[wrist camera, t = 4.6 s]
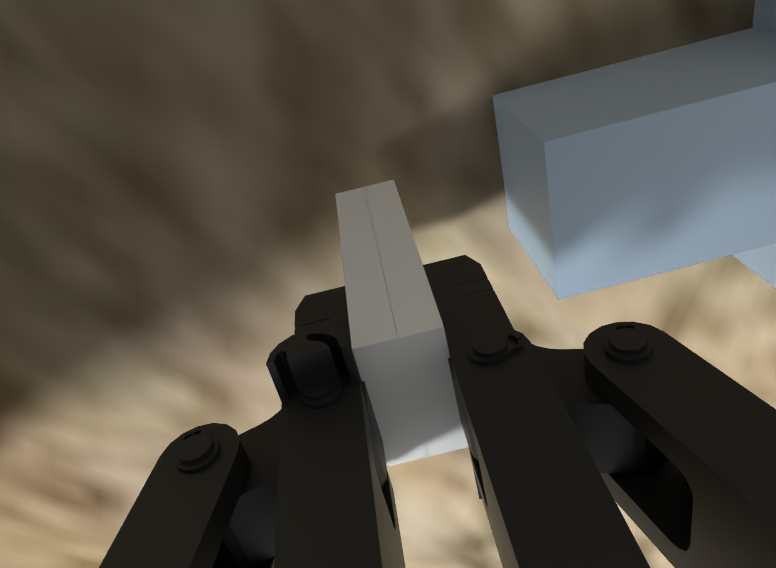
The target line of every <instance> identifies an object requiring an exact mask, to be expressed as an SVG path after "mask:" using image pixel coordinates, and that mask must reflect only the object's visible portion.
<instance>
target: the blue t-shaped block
mask: <svg viewBox="0 0 776 568" xmlns="http://www.w3.org/2000/svg"><path fill="white" fill-rule="evenodd" d="M492 97H493V104H494V112H495V120H496V127H497V135H498V142H499V150H500V158H501V165H502V173H503V180H504V188H505V196H506V203H507V211H508V218H509V226H510V230H511V231H512V233H513V234H514V236H515V237H516V239H517V240H518V242H519V243H520V244H521V246H522V247H523V249H524V250H525V252H526V253H527V255H528V256H529V258H530V259H531V261H532V262H533V263H534V265H535V266H536V268H537V269H538V271H539V272H540V274H541V275H542V277H543V278H544V280H545V281H546V283H547V284H548V285H549V287H550V288H551V290H552V291H553V293H554V294H555V296H556V297H557V299H562V298H566V297H570V296H574V295H578V294H582V293H586V292H589V291H593V290H597V289H601V288H605V287H609V286H613V285H617V284H621V283H624V282H628V281H632V280H636V279H640V278H644V277H648V276H652V275H655V274H659V273H663V272H667V271H671V270H675V269H679V268H683V267H686V266H690V265H694V264H698V263H702V262H706V261H710V260H714V259H717V258H721V257H725V256H729V255H733V256H734V257H735V258H736V259H738V260H739V261H740V262H742V263H743V264H744V265H745V266H747V267H748V268H749V269H751V270H752V271H753V272H755V273H756V274H757V275H758V276H760V277H761V278H762V279H764V280H765V281H766V282H767V283H769V284H770V285H771V286H773V287H774V288H775V289H776V0H755V5H754V17H753V28H749V29H745V30H741V31H737V32H733V33H729V34H726V35H722V36H718V37H714V38H710V39H706V40H703V41H699V42H695V43H691V44H687V45H683V46H680V47H676V48H672V49H668V50H664V51H660V52H657V53H653V54H649V55H645V56H641V57H637V58H634V59H630V60H626V61H622V62H618V63H614V64H611V65H607V66H603V67H599V68H595V69H591V70H588V71H584V72H580V73H576V74H572V75H568V76H565V77H561V78H557V79H553V80H549V81H545V82H542V83H538V84H534V85H530V86H526V87H522V88H519V89H515V90H511V91H507V92H503V93H499V94H495V95H492Z"/></svg>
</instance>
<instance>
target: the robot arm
mask: <svg viewBox="0 0 776 568" xmlns="http://www.w3.org/2000/svg"><path fill="white" fill-rule="evenodd" d="M335 196H336V205H337V215H338V224H339V233H340V243H341V252H342V261H343V271H344V280H345V286H343V287H339V288H335V289H331V290H327V291H323V292H319V293H315V294H311V295H306V296H305V297H304V298H303V300H302V301H301V303H300V304H299V306H298V308H297V309H296V311H295V335H292V336H290V337H289V338H287V339H286V340H284V341H283V342H281V343H279V344H278V345H277V347H276V348H275V349H274V350H273V351H272V352H271V353H270V355H269V358H268V360H267V363H266V365H267V367H268V370H269V372H270V375H271V377H272V380H273V382H274V385H275V387H276V389H277V392H278V394H279V397H280V399H281V402H282V409H281V410H280V411H279V412H278V413H276V414H275V415H274V416H273V417H272V418H270V419H269V420H267V421H265V422H264V423H262V424H260V425H258V426H256V427H254V428H252V429H250V430H248V431H246V432H244V433H242V434H240V435H238V434H237V431H236V430H235V429H233V428H232V427H230V426H229V425H227V424H219V423H211V424H206V425H202V426H198V427H196V428H194V429H191V430H189V431H187V432H185V433H183V434H182V435H180V436H179V437H178V438H177V439H175V440H174V441H173V442H172V443H170V444H169V445H168V447H167V448H166V449H165V451H164V452H163V453H162V455H161V456H160V457H159V459H158V461H157V463H156V465H155V467H154V468H153V470H152V472H151V474H150V476H149V477H148V479H147V481H146V483H145V485H144V487H143V488H142V490H141V492H140V494H139V496H138V497H137V499H136V501H135V503H134V505H133V507H132V508H131V510H130V512H129V514H128V516H127V518H126V519H125V521H124V523H123V525H122V527H121V528H120V530H119V532H118V534H117V536H116V538H115V539H114V541H113V543H112V545H111V547H110V548H109V550H108V552H107V554H106V556H105V558H104V559H103V561H102V563H101V565H100V567H99V568H405V562H404V556H403V549H402V543H401V537H400V530H399V524H398V518H397V511H396V505H395V498H394V492H393V488H392V485H391V481H390V478H389V475H388V472H387V466H386V462H387V465H388V466H392V465H396V464H401V463H405V462H409V461H413V460H417V459H421V458H425V457H429V456H434V455H438V454H442V453H446V452H450V451H454V450H458V449H463V448H467V447H468V446H469V450H470V455H471V460H472V465H473V469H474V474H475V479H476V484H477V489H478V494H479V499H483V503H484V506H485V509H486V513H487V516H488V519H489V523H490V526H491V529H492V532H493V536H494V539H495V542H496V546H497V549H498V552H499V556H500V559H501V562H502V566H503V568H650V566H649V564H648V562H647V561H646V559H645V557H644V555H643V553H642V551H641V549H640V547H639V546H638V544H637V542H636V540H635V538H634V536H633V534H632V532H631V530H630V529H629V527H628V525H627V523H626V521H625V519H624V517H623V515H622V514H621V512H620V510H619V508H618V506H617V504H618V505H619V506H620V507H621V508H622V509H623V510H624V511H625V512H626V514H627V515H628V516H629V517H630V518H631V519H632V520H633V521H634V523H635V524H636V525H637V526H638V527H639V528H640V529H641V530H642V532H643V533H644V534H645V535H646V536H647V537H648V538H649V539H650V540H651V542H652V543H653V544H654V545H655V546H656V547H657V548H658V549H659V551H660V552H661V553H662V554H663V555H664V556H665V557H666V558H667V560H668V561H669V562H670V563H671V564H672V565H673V566H674V567H675V568H776V409H775V408H773V407H772V406H770V405H769V404H767V403H766V402H765V401H763V400H762V399H760V398H759V397H757V396H756V395H754V394H753V393H752V392H750V391H749V390H747V389H746V388H744V387H743V386H741V385H740V384H739V383H737V382H736V381H734V380H733V379H731V378H730V377H728V376H727V375H726V374H724V373H723V372H721V371H720V370H718V369H717V368H716V367H714V366H713V365H711V364H710V363H708V362H707V361H705V360H704V359H703V358H701V357H700V356H698V355H697V354H695V353H694V352H692V351H691V350H690V349H688V348H687V347H685V346H684V345H682V344H681V343H680V342H678V341H677V340H675V339H674V338H672V337H671V336H669V335H668V334H667V333H665V332H663V331H661V330H659V329H657V328H655V327H653V326H651V325H647V324H642V323H637V322H616V323H612V324H608V325H604V326H601V327H599V328H598V329H596V330H595V331H593V332H591V333H590V334H589V335H588V337H587V338H586V340H585V342H584V343H583V344H584V349H548V348H543V347H538V346H535V345H533V344H531V342H530V341H529V340H528V339H527V338H526V337H525V336H524V334H523V333H520V332H518V331H516V330H514V328H513V327H512V325H511V323H510V321H509V319H508V317H507V315H506V313H505V311H504V309H503V307H502V305H501V303H500V301H499V299H498V297H497V295H496V293H495V291H493V288H492V286H491V284H490V282H489V280H488V279H487V276H486V274H485V272H484V270H483V268H482V266H481V264H480V263H478V262H476V261H475V260H473V259H471V258H469V257H468V256H466V255H463V256H458V257H454V258H450V259H446V260H442V261H438V262H434V263H430V264H426V265H423V264H422V261H421V258H420V255H419V253H418V250H417V247H416V244H415V241H414V238H413V235H412V232H411V229H410V226H409V223H408V220H407V217H406V215H405V212H404V209H403V206H402V203H401V200H400V197H399V194H398V191H397V188H396V185H395V182H394V179H393V180H389V181H385V182H381V183H377V184H373V185H369V186H365V187H361V188H357V189H353V190H349V191H345V192H341V193H337V194H335ZM385 458H386V459H385ZM615 501H616V502H617V504H616V502H615Z"/></svg>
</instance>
